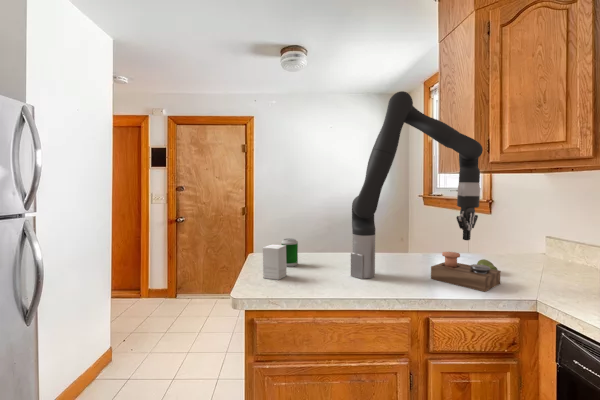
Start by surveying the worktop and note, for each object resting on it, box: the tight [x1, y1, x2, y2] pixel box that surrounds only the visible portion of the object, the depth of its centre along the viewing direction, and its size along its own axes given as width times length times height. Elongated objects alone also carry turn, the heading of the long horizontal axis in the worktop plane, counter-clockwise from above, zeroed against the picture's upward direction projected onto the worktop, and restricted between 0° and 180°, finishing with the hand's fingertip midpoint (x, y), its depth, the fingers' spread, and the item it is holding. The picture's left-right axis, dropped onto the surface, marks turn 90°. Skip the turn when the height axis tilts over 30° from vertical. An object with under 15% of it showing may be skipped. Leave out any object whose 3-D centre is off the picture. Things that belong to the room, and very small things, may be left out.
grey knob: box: [469, 263, 490, 274], centre depth 121 cm, size 6×6×6 cm
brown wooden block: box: [430, 261, 502, 293], centre depth 126 cm, size 14×20×5 cm
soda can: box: [280, 238, 299, 268], centre depth 151 cm, size 8×8×12 cm
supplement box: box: [262, 243, 288, 281], centre depth 132 cm, size 7×7×13 cm
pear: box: [476, 258, 498, 270], centre depth 137 cm, size 6×5×10 cm
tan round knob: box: [441, 251, 461, 268], centre depth 130 cm, size 6×6×6 cm
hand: (466, 239), depth 124 cm, fingers closed
